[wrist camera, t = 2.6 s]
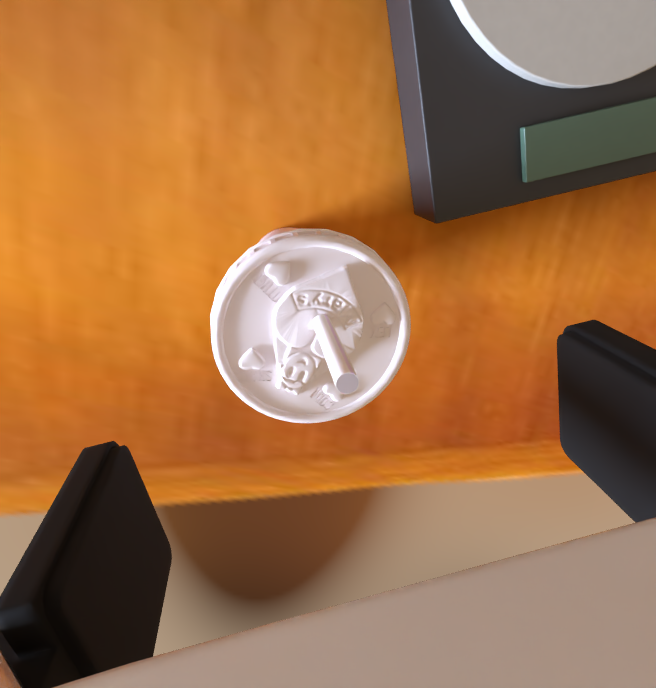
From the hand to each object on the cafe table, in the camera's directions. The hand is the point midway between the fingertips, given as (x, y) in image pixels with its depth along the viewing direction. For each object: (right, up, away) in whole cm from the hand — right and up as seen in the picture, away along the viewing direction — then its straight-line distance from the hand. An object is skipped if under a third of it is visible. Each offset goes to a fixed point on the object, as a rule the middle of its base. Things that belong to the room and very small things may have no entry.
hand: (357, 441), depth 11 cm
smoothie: (-3, +6, +14) cm, 15 cm away
